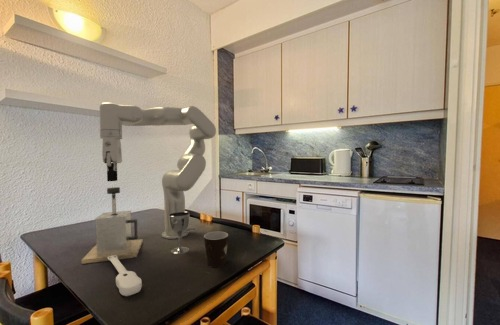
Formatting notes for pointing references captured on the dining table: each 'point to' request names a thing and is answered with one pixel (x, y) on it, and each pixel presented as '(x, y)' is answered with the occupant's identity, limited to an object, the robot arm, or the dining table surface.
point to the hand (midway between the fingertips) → (112, 180)
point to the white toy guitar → (125, 278)
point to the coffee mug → (216, 248)
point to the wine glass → (179, 228)
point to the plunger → (113, 197)
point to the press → (114, 238)
